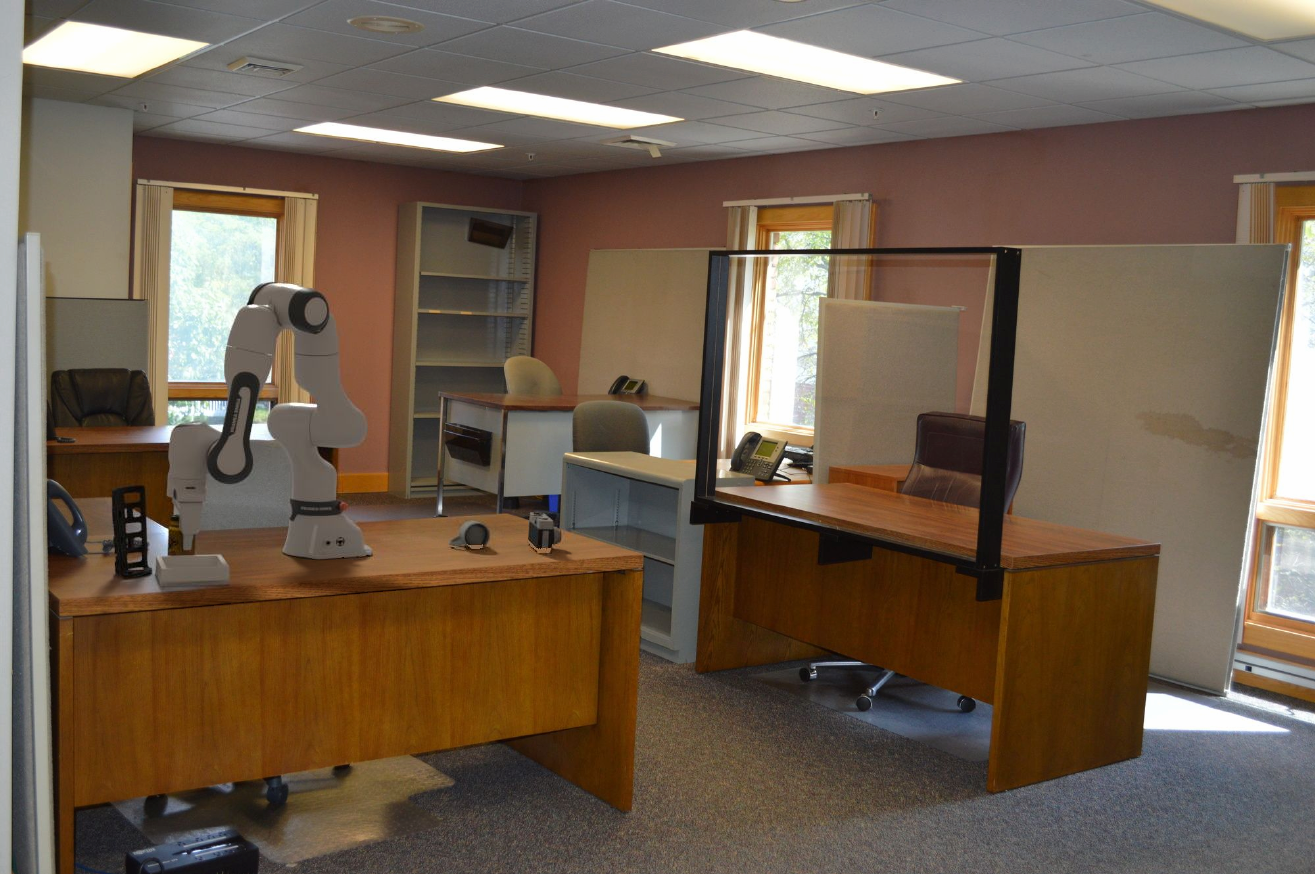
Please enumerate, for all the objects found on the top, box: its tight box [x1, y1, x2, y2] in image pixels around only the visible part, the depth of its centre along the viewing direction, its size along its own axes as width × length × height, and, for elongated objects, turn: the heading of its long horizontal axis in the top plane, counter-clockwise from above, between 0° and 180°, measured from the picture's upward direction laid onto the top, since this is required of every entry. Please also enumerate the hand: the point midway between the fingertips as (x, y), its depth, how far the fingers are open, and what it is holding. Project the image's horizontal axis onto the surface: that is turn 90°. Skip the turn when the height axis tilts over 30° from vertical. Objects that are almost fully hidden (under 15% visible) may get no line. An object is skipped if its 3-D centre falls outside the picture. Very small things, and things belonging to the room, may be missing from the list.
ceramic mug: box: [448, 520, 491, 548], centre depth 318 cm, size 11×8×8 cm
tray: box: [155, 554, 231, 588], centre depth 257 cm, size 14×14×4 cm
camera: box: [527, 511, 562, 549], centre depth 324 cm, size 14×8×10 cm, turn 18°
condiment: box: [167, 514, 197, 556], centre depth 270 cm, size 7×8×12 cm
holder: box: [110, 484, 153, 580], centre depth 257 cm, size 11×8×20 cm
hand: (185, 546), depth 270 cm, fingers open, 6 cm apart
